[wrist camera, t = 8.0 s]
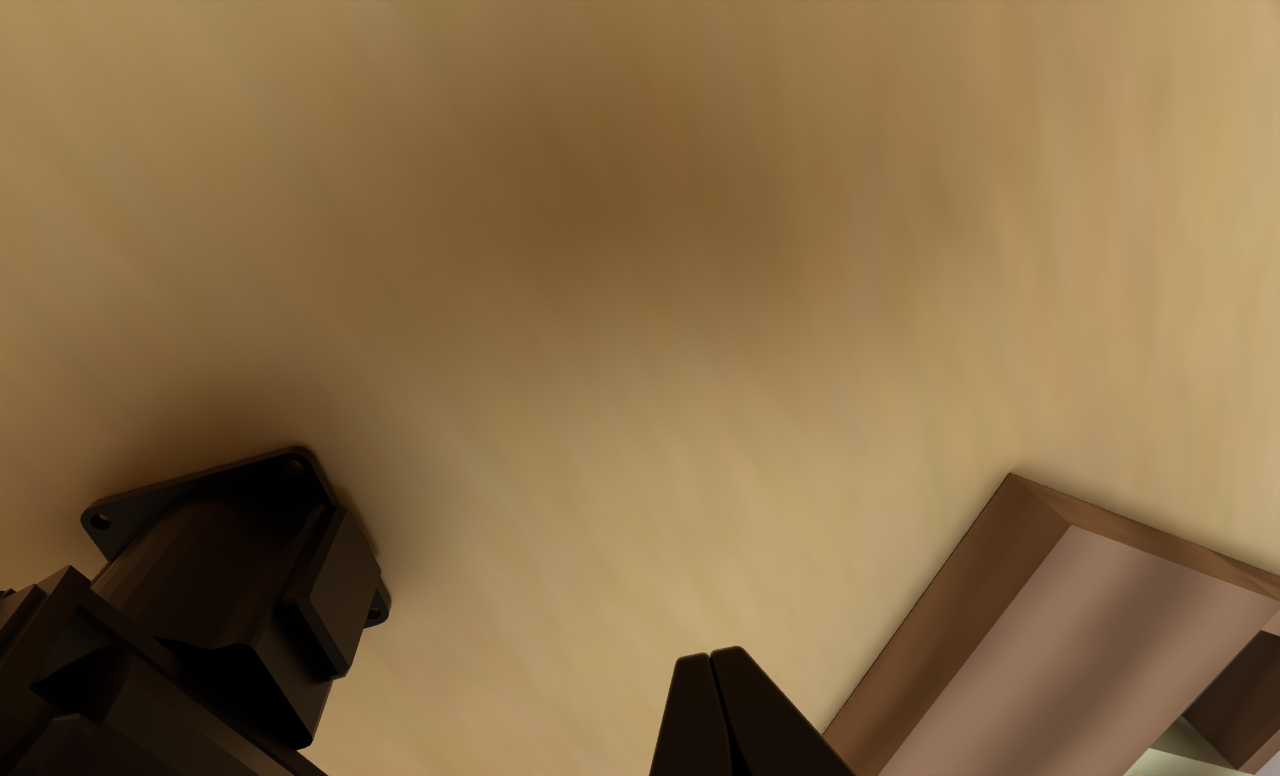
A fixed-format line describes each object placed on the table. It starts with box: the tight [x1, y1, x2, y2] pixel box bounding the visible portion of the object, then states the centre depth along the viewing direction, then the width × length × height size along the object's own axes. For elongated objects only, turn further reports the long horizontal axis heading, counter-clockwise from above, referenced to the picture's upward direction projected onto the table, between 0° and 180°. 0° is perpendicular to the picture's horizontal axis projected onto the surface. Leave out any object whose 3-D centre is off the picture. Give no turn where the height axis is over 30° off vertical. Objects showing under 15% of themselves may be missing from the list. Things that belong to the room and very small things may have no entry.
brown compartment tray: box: [822, 473, 1280, 776], centre depth 28 cm, size 16×22×3 cm
